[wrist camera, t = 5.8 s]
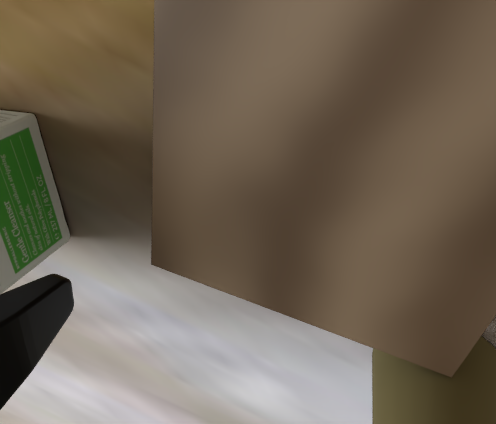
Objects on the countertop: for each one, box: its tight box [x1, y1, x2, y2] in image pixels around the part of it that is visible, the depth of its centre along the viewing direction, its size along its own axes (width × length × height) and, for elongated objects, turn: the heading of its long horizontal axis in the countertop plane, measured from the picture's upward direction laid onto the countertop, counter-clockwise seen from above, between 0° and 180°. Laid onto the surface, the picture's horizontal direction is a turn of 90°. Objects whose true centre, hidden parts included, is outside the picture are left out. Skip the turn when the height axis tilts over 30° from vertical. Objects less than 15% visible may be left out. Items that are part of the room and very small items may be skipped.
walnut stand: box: [151, 0, 496, 378], centre depth 16 cm, size 14×14×3 cm
